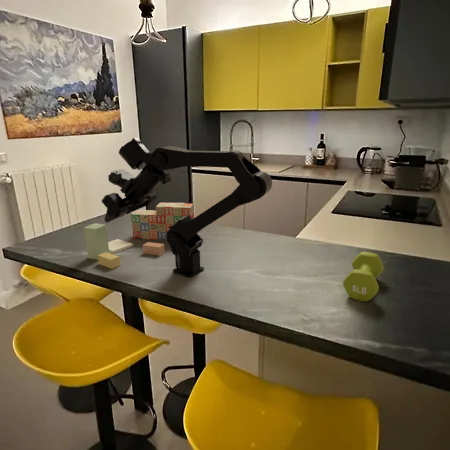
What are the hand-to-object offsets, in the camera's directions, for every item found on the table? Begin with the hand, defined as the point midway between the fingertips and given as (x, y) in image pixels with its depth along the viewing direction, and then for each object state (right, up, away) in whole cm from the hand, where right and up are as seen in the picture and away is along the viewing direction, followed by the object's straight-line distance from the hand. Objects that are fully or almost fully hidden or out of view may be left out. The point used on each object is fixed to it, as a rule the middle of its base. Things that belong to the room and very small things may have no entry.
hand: (116, 217), depth 99 cm
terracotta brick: (+9, -11, +10) cm, 17 cm away
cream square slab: (-5, -10, +14) cm, 18 cm away
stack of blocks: (+10, -7, +24) cm, 27 cm away
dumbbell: (+67, -19, -13) cm, 71 cm away
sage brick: (-8, -12, +7) cm, 16 cm away
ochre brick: (-2, -14, +1) cm, 14 cm away
